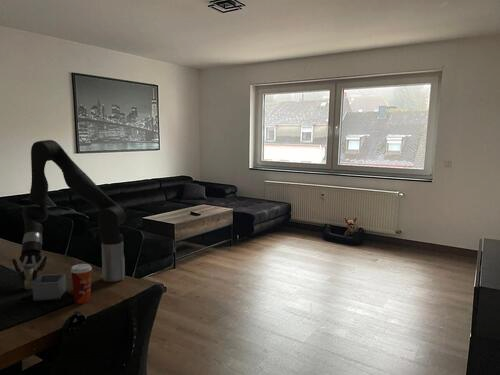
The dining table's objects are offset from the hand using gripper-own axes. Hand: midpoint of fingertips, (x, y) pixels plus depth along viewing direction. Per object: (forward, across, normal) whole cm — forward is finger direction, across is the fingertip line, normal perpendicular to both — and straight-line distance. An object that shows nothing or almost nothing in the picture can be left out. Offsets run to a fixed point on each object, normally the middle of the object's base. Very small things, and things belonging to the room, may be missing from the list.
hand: (28, 280), depth 154 cm
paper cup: (+16, +22, -10) cm, 29 cm away
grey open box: (+9, +9, -3) cm, 13 cm away
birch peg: (+1, 0, +4) cm, 5 cm away
